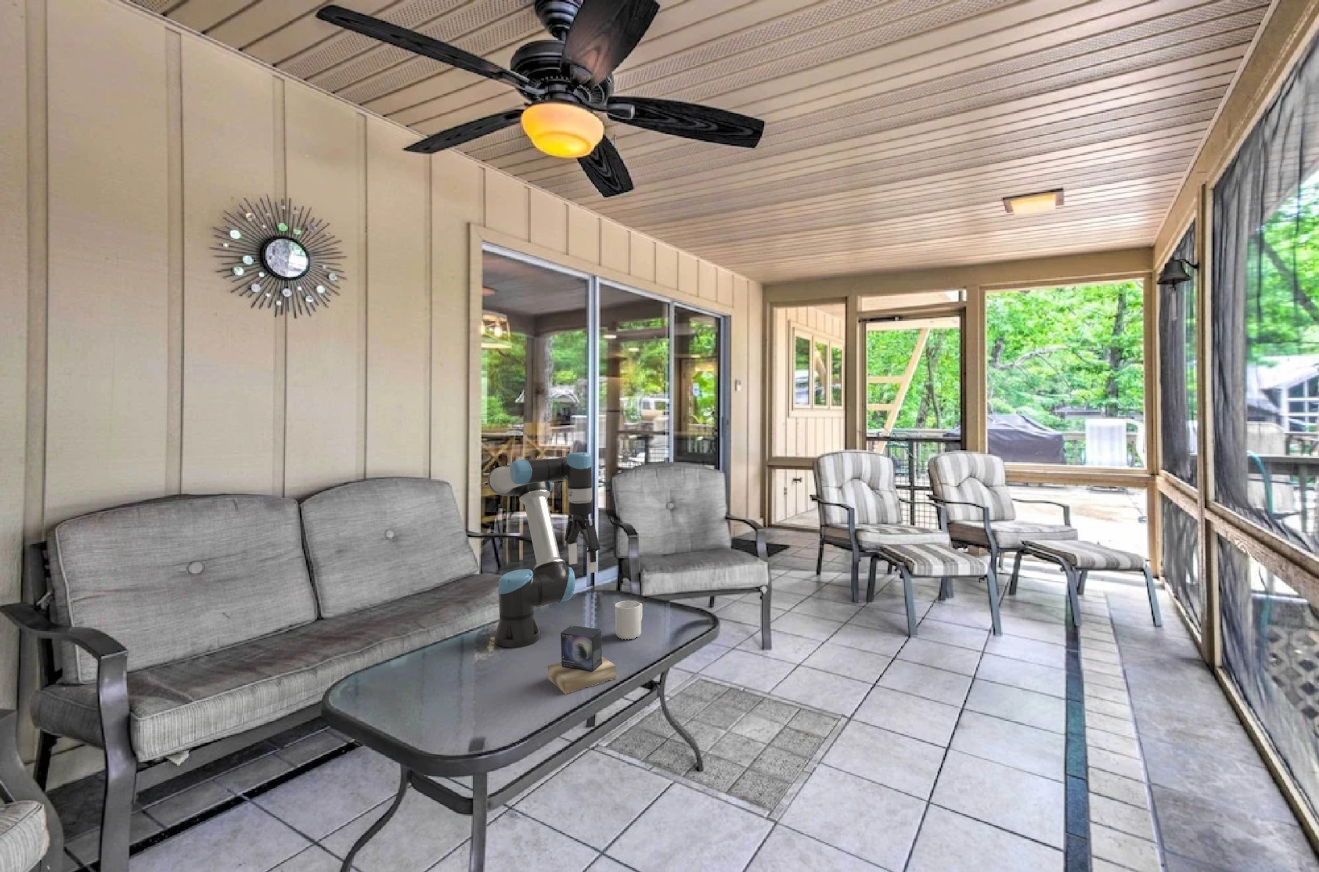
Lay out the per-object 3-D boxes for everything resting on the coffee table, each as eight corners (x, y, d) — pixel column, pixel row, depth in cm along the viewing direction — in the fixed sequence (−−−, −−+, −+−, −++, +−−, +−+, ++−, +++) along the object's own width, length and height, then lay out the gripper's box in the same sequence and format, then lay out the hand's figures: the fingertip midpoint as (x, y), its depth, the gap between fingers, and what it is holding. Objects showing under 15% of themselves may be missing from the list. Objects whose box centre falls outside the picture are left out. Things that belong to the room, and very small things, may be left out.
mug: (630, 642, 204) (629, 610, 204) (610, 637, 209) (609, 605, 209) (651, 631, 214) (650, 600, 213) (631, 627, 219) (631, 596, 218)
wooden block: (548, 679, 177) (547, 665, 177) (596, 665, 186) (596, 652, 186) (565, 694, 167) (565, 679, 167) (615, 679, 176) (615, 665, 176)
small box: (560, 667, 175) (559, 632, 175) (571, 659, 181) (570, 624, 181) (592, 672, 171) (591, 636, 171) (603, 663, 177) (602, 628, 177)
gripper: (553, 498, 199) (555, 562, 200) (587, 507, 178) (589, 578, 179) (574, 496, 203) (575, 558, 204) (609, 504, 183) (611, 573, 183)
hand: (582, 568), depth 192 cm, fingers open, 13 cm apart
